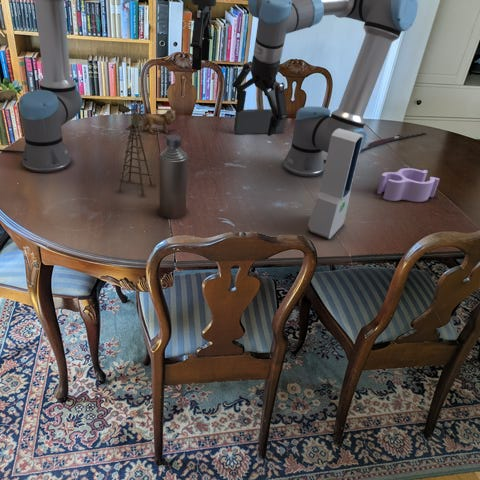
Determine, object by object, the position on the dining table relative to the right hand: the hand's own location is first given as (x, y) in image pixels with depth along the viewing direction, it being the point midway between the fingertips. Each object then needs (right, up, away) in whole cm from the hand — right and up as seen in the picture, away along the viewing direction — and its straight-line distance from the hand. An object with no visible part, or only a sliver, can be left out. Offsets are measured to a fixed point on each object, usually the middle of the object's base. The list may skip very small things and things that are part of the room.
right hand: (255, 122), depth 141 cm
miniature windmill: (-38, -19, +9) cm, 44 cm away
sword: (+64, +9, +70) cm, 95 cm away
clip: (+54, -19, +24) cm, 62 cm away
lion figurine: (-38, +10, +54) cm, 67 cm away
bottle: (-25, -27, -1) cm, 37 cm away
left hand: (-17, +20, +8) cm, 28 cm away
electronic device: (+21, -32, -1) cm, 38 cm away
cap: (-23, -8, -13) cm, 28 cm away
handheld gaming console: (+4, +11, +64) cm, 65 cm away
